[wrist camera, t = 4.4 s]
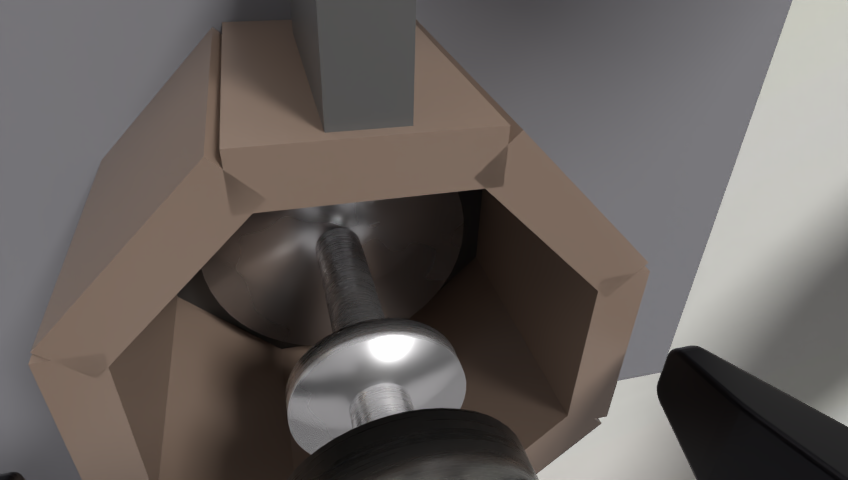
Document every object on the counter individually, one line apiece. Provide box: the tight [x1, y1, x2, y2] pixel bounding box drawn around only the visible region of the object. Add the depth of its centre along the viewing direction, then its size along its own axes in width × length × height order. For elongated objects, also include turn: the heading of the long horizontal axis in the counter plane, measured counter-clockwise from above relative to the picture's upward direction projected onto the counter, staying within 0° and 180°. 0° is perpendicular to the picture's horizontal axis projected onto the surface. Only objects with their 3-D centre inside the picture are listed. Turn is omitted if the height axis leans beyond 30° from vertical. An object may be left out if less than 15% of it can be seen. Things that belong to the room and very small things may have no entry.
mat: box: [0, 0, 792, 480], centre depth 13 cm, size 20×14×1 cm
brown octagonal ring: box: [28, 0, 650, 480], centre depth 10 cm, size 8×11×5 cm
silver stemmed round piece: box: [201, 192, 539, 480], centre depth 9 cm, size 5×5×8 cm
